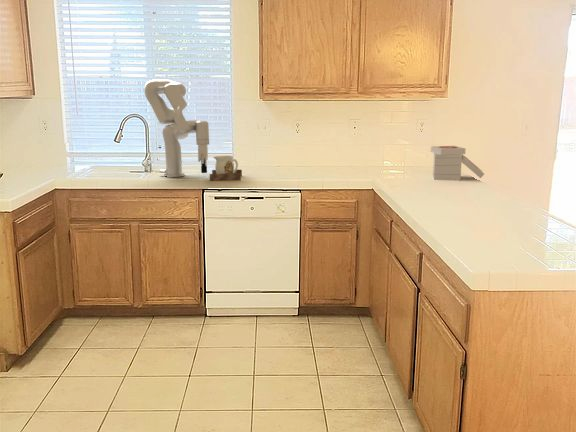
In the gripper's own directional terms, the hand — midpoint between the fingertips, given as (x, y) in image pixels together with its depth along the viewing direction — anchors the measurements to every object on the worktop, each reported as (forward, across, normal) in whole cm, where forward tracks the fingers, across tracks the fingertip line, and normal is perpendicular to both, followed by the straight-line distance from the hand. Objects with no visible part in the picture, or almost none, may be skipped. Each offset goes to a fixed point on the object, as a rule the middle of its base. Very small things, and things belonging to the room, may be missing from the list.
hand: (204, 172), depth 355 cm
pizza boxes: (+5, +10, +149) cm, 150 cm away
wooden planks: (+4, 0, +13) cm, 14 cm away
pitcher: (+4, 0, +13) cm, 14 cm away
